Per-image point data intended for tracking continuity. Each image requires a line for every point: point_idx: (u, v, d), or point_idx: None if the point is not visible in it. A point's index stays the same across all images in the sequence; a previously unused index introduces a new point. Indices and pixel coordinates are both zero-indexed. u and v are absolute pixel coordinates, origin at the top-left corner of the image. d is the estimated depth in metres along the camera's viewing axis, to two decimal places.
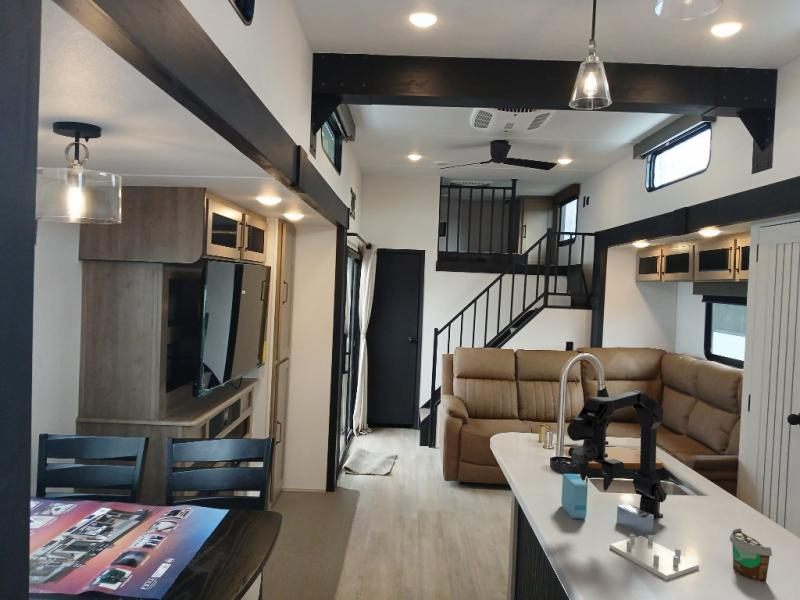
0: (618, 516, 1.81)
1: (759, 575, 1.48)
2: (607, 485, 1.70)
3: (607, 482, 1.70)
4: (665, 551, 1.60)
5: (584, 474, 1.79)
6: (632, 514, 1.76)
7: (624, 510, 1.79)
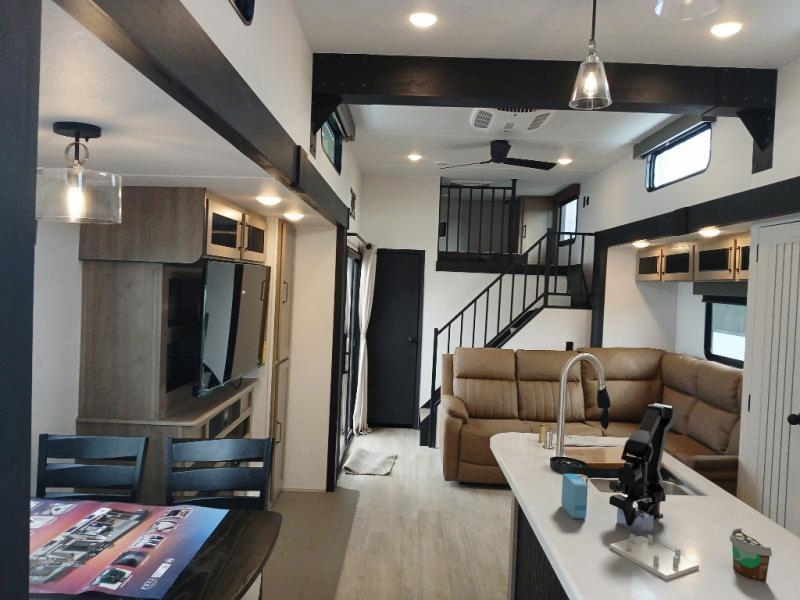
0: (618, 516, 1.81)
1: (759, 575, 1.48)
2: (627, 520, 1.76)
3: (626, 517, 1.76)
4: (665, 551, 1.60)
5: None
6: None
7: None
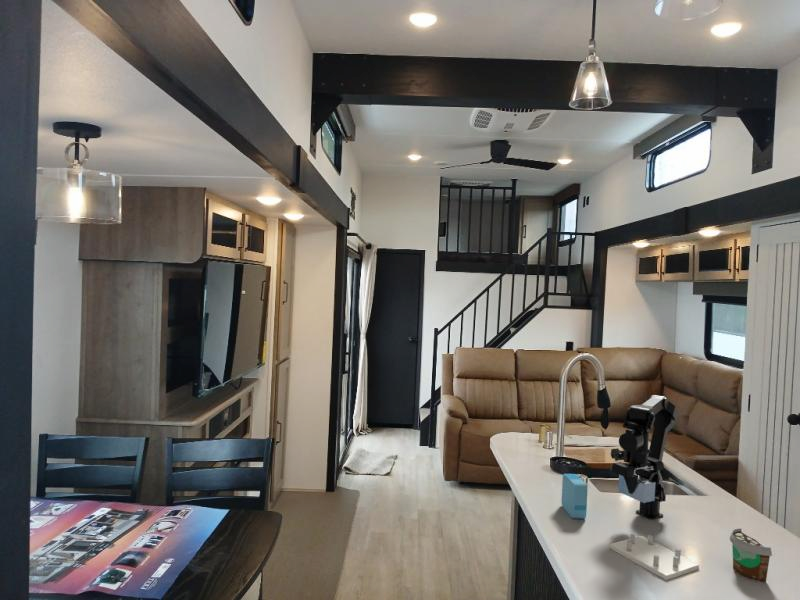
0: (620, 484, 1.80)
1: (759, 575, 1.48)
2: (629, 488, 1.76)
3: (627, 484, 1.76)
4: (665, 551, 1.60)
5: None
6: None
7: None
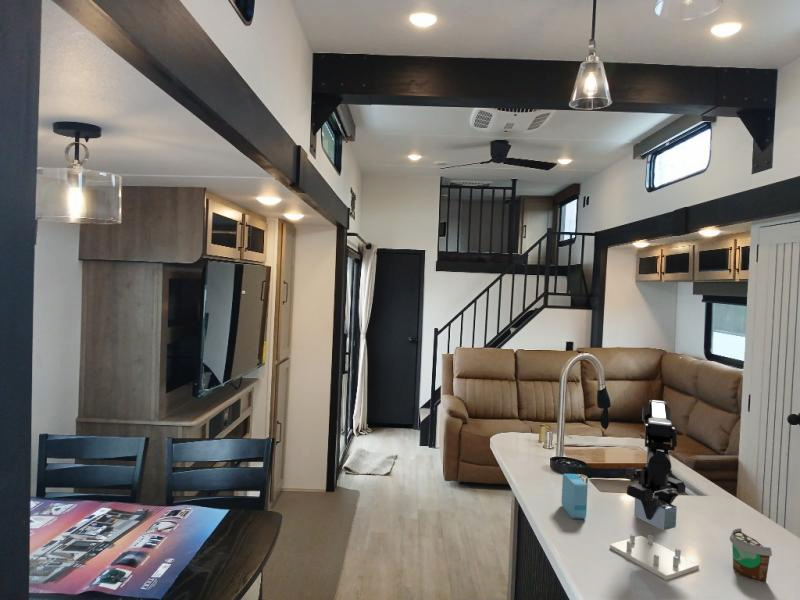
0: (636, 508, 1.61)
1: (759, 575, 1.48)
2: (647, 513, 1.56)
3: (645, 509, 1.56)
4: (665, 551, 1.60)
5: None
6: None
7: None
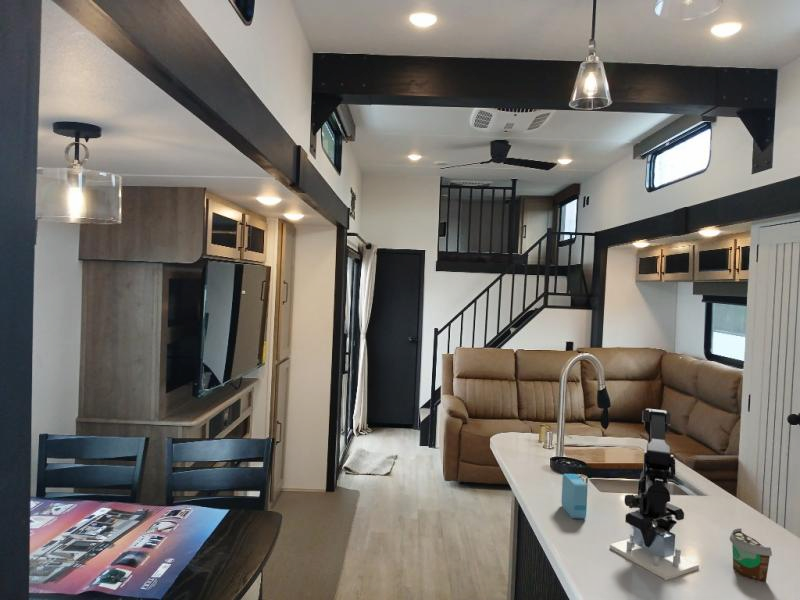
0: (635, 535, 1.61)
1: (759, 575, 1.48)
2: (646, 541, 1.56)
3: (644, 537, 1.57)
4: None
5: None
6: None
7: None
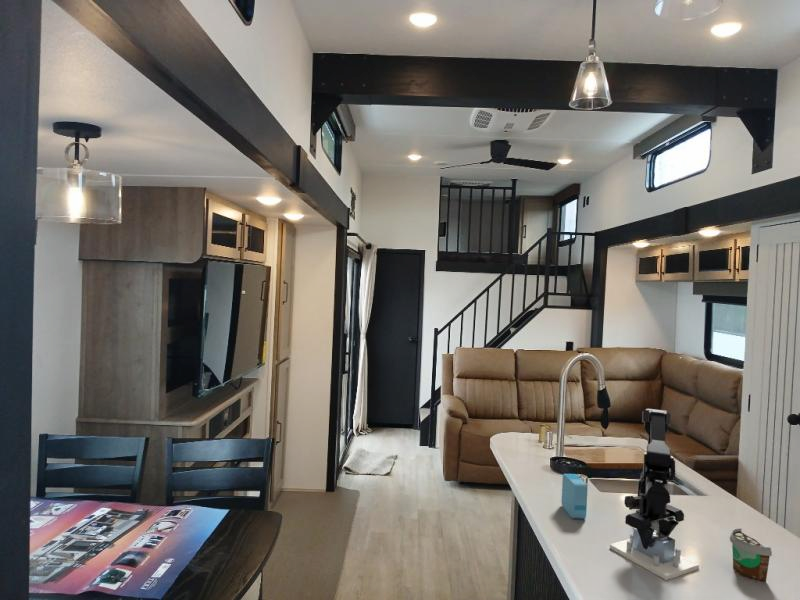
0: (634, 540, 1.61)
1: (759, 575, 1.48)
2: (644, 543, 1.56)
3: (642, 538, 1.56)
4: None
5: None
6: (651, 538, 1.56)
7: None
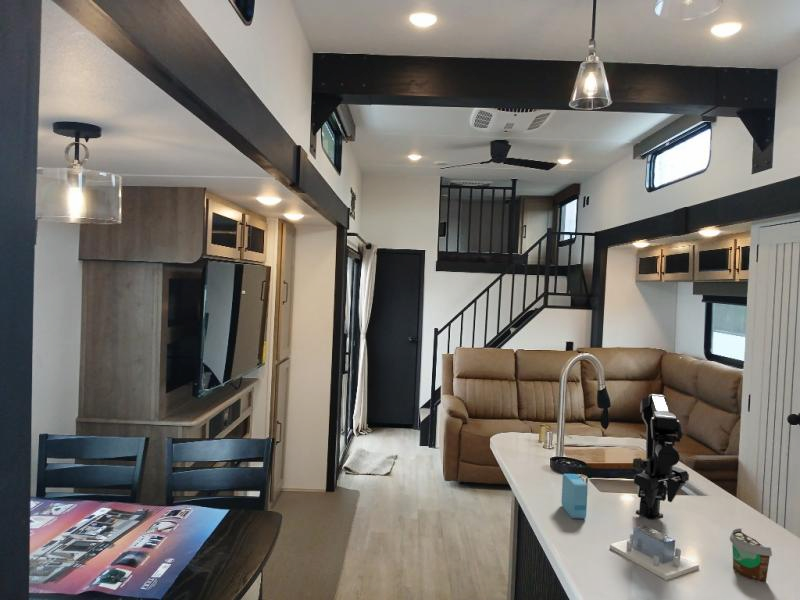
0: (634, 540, 1.61)
1: (759, 575, 1.48)
2: (648, 501, 1.66)
3: (647, 497, 1.67)
4: None
5: (669, 496, 1.71)
6: (651, 538, 1.56)
7: (641, 533, 1.59)
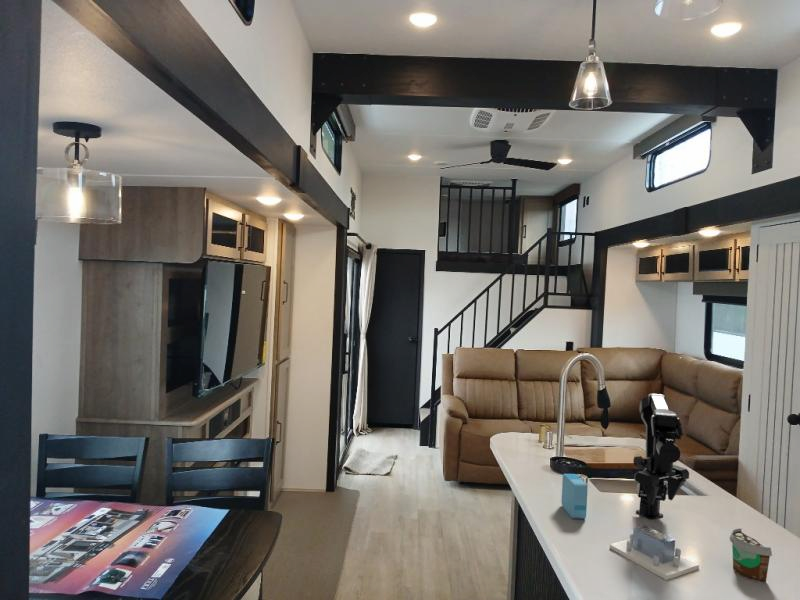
0: (634, 540, 1.61)
1: (759, 575, 1.48)
2: (649, 499, 1.67)
3: (648, 495, 1.67)
4: None
5: (670, 494, 1.72)
6: (651, 538, 1.56)
7: (641, 533, 1.59)
